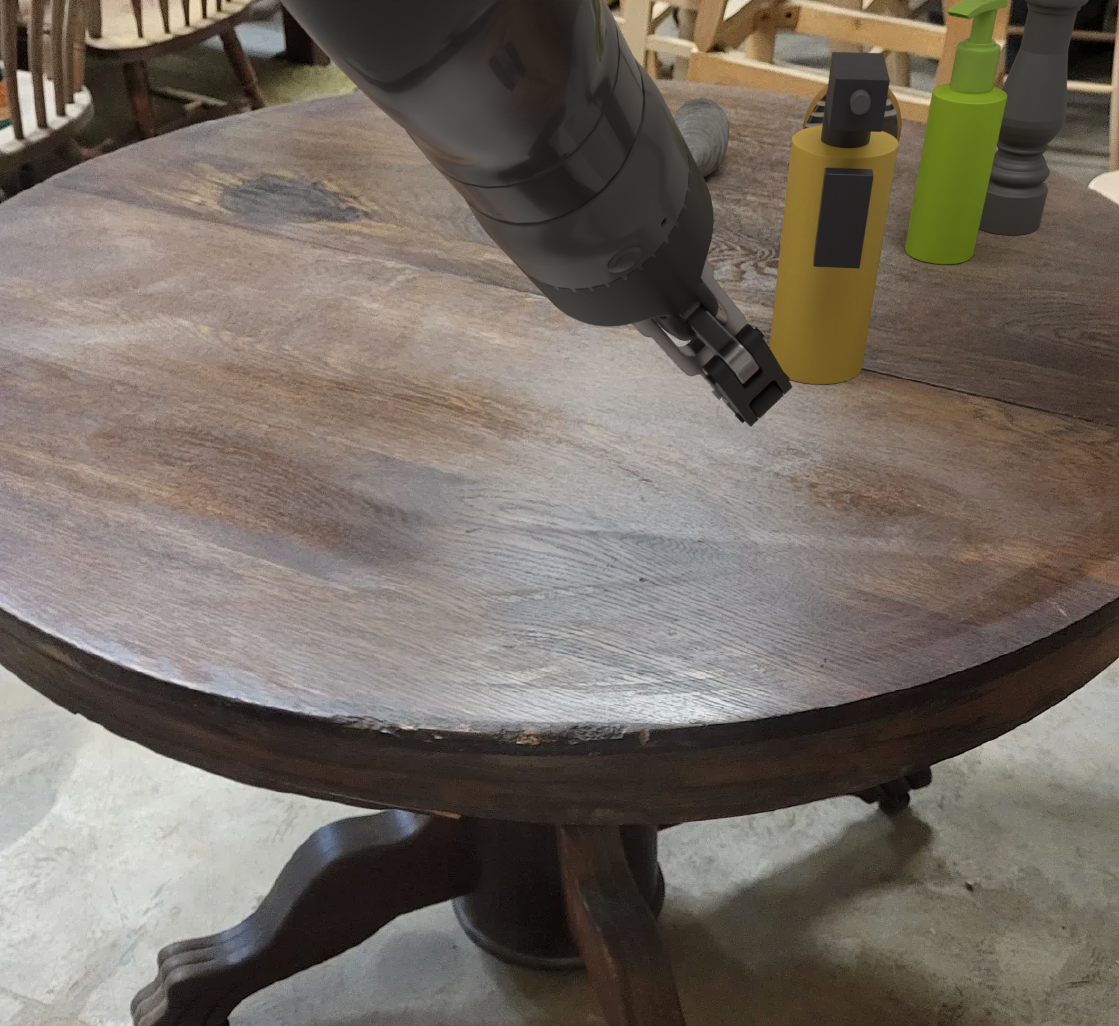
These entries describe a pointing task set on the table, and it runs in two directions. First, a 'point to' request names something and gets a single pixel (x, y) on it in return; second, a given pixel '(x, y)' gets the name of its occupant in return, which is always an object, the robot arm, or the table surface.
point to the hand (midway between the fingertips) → (693, 337)
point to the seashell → (704, 132)
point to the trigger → (842, 217)
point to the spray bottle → (801, 289)
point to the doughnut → (891, 116)
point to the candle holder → (1030, 119)
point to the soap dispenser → (959, 145)
